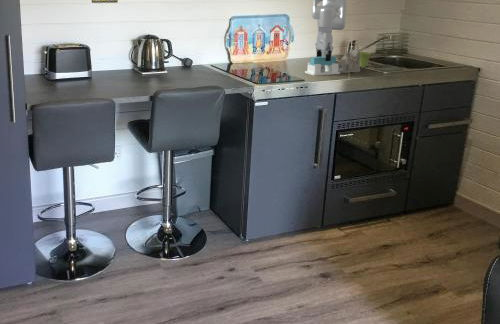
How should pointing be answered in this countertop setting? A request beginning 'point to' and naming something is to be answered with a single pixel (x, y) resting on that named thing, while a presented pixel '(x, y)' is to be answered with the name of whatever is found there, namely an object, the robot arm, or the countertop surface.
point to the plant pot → (364, 59)
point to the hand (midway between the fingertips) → (323, 59)
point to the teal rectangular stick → (322, 60)
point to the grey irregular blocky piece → (350, 62)
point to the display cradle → (322, 69)
